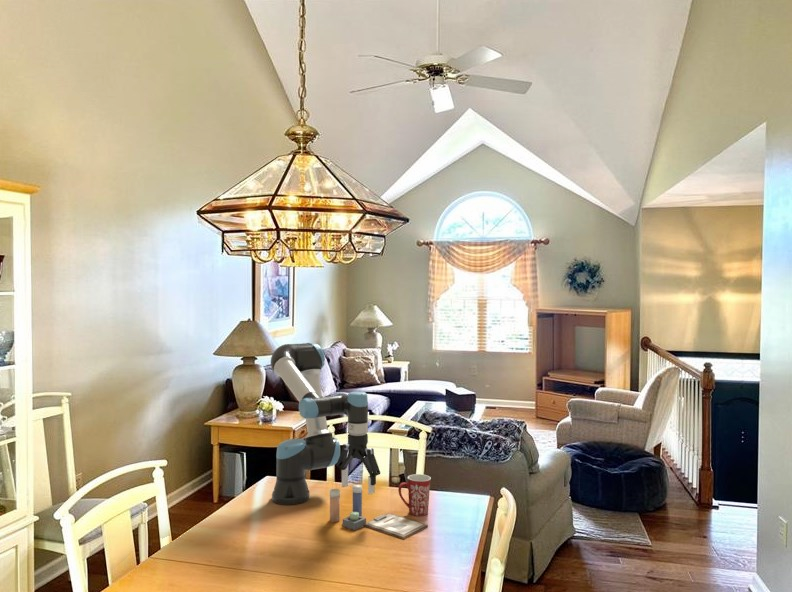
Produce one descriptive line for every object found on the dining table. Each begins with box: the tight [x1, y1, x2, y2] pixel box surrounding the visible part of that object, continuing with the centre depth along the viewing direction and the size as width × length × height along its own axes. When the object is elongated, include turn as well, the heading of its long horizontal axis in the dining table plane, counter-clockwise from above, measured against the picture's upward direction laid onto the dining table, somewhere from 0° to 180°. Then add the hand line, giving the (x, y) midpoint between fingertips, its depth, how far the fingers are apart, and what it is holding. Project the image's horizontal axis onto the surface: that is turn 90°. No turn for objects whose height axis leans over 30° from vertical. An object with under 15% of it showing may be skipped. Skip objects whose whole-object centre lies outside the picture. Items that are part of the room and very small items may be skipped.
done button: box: [349, 511, 359, 522], centre depth 213 cm, size 3×3×2 cm
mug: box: [397, 473, 432, 517], centre depth 226 cm, size 13×9×14 cm
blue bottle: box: [351, 484, 363, 517], centre depth 223 cm, size 4×4×11 cm
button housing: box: [342, 515, 367, 531], centre depth 213 cm, size 6×6×2 cm
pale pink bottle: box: [329, 488, 341, 523], centre depth 217 cm, size 4×4×11 cm
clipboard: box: [363, 512, 429, 540], centre depth 212 cm, size 18×14×2 cm
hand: (357, 490), depth 222 cm, fingers open, 13 cm apart
